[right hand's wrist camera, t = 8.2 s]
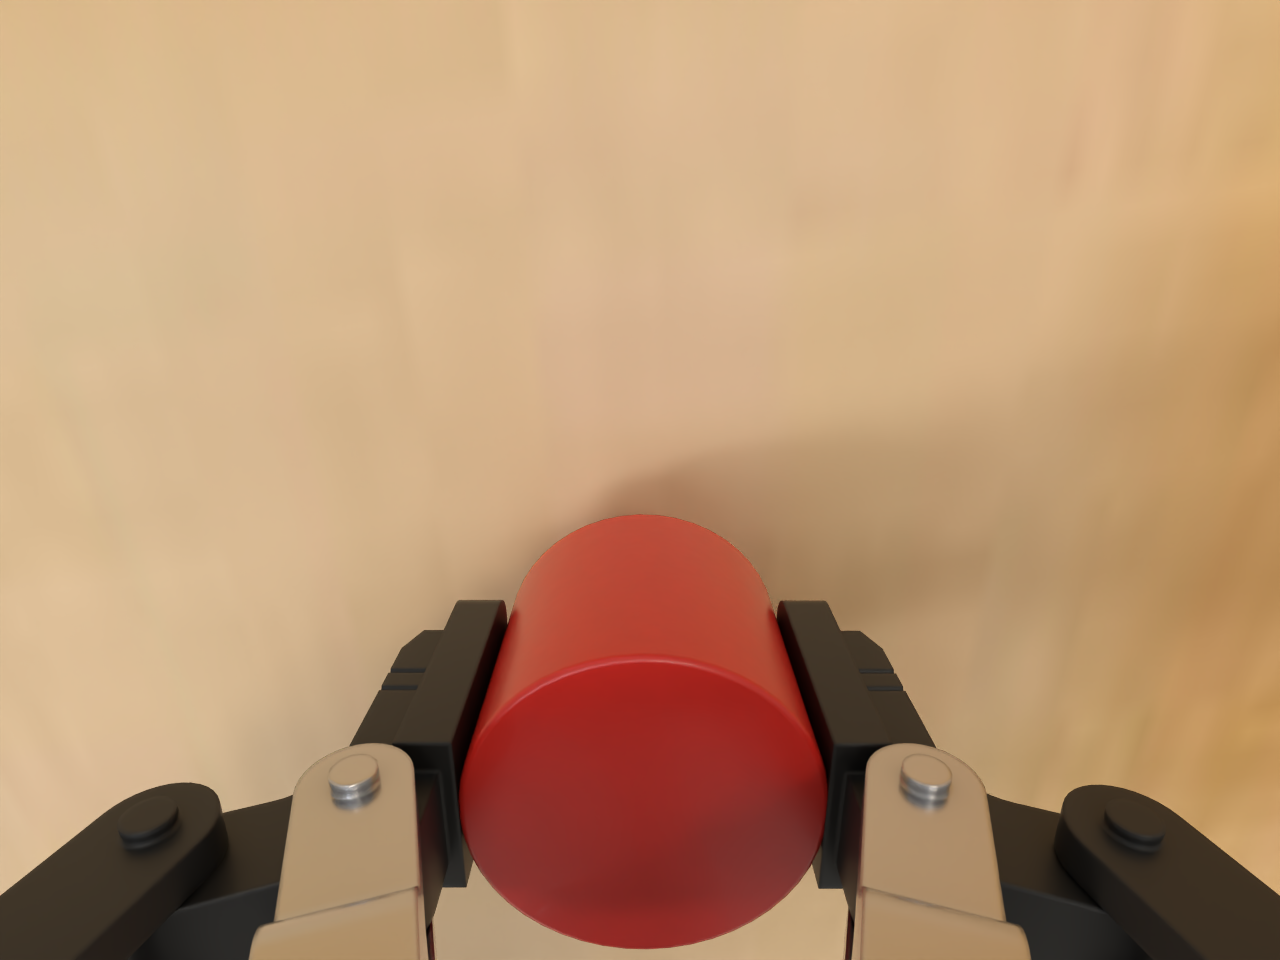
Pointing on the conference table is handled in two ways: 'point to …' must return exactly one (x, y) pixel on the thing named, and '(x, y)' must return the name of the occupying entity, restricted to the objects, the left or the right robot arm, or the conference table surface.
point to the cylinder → (643, 743)
